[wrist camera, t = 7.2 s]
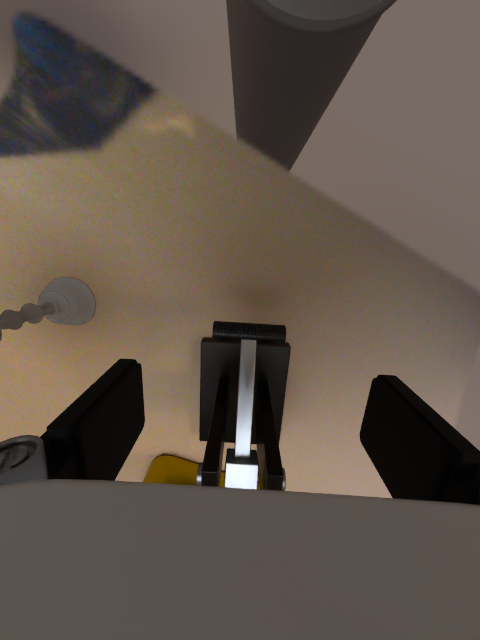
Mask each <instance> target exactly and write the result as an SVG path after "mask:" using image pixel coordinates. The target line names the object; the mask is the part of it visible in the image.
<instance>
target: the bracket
mask: <svg viewBox="0 0 480 640" xmlns="http://www.w3.org/2000/svg"><path fill="white" fill-rule="evenodd" d="M290 348H291V347H290V345H289V343H285V344H284V345H276V344H260V343H256V359H255V378H254V397H253V415H252V434H251V444H257V457H258V463H259V474H258V476H259V489H261V490H277V491H285V487H286V476H285V470H284V468H282V463H281V457H280V451H279V439H280V431H281V423H282V415H283V406H284V398H285V390H286V381H287V373H288V365H289V357H290ZM240 349H241V342H227V341H213V338H203V339H202V341H201V377H200V439H199V440H200V441H207V445H206V450H205V455H204V460H203V463H199V464H198V469H197V476H196V486H212V487H220V478H221V468H222V459H223V449H224V442H230V443H235V433H236V416H237V400H238V383H239V366H240Z"/></svg>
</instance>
